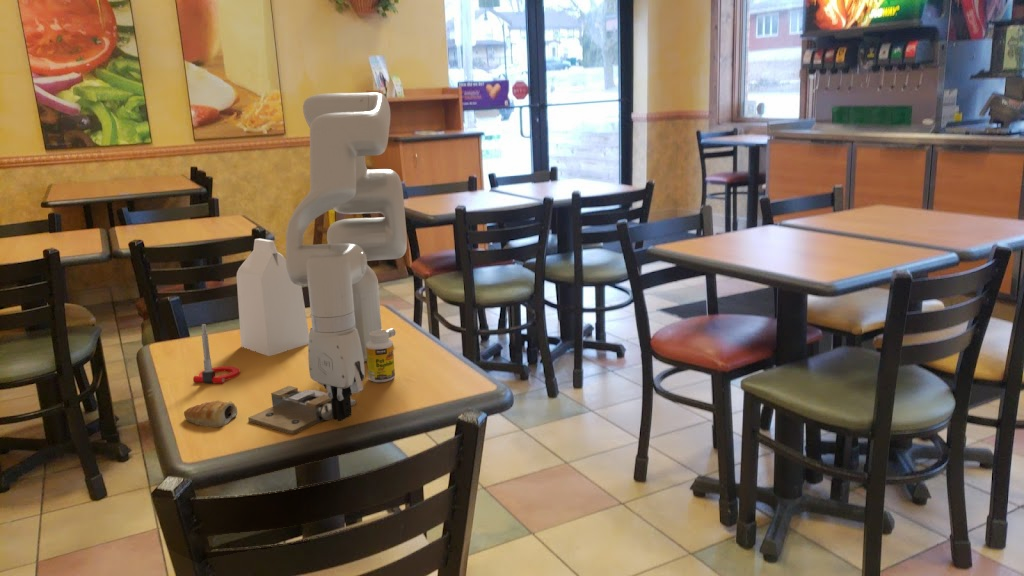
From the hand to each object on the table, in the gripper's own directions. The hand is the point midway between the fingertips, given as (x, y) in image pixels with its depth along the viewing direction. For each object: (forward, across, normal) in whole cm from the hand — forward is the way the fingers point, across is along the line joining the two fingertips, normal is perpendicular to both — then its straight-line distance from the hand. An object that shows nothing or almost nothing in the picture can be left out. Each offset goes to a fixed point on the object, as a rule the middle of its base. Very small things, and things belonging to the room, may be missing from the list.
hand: (342, 417), depth 145 cm
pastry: (+2, -23, -11) cm, 26 cm away
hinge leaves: (+1, -10, 0) cm, 11 cm away
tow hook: (+2, -43, +4) cm, 43 cm away
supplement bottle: (+2, -10, +21) cm, 23 cm away
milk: (+1, -49, +25) cm, 55 cm away
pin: (+1, -11, 0) cm, 11 cm away
